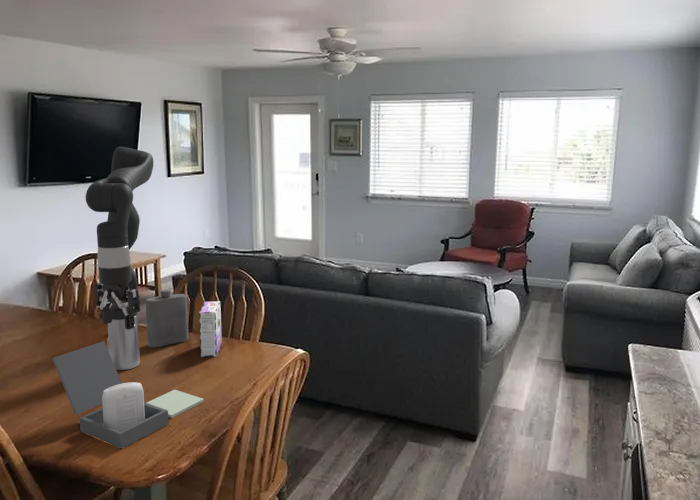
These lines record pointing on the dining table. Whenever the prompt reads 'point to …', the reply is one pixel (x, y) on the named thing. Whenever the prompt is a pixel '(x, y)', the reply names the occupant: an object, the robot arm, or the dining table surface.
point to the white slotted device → (123, 405)
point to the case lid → (86, 375)
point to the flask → (167, 319)
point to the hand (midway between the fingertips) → (118, 325)
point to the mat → (176, 402)
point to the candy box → (210, 329)
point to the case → (120, 439)
